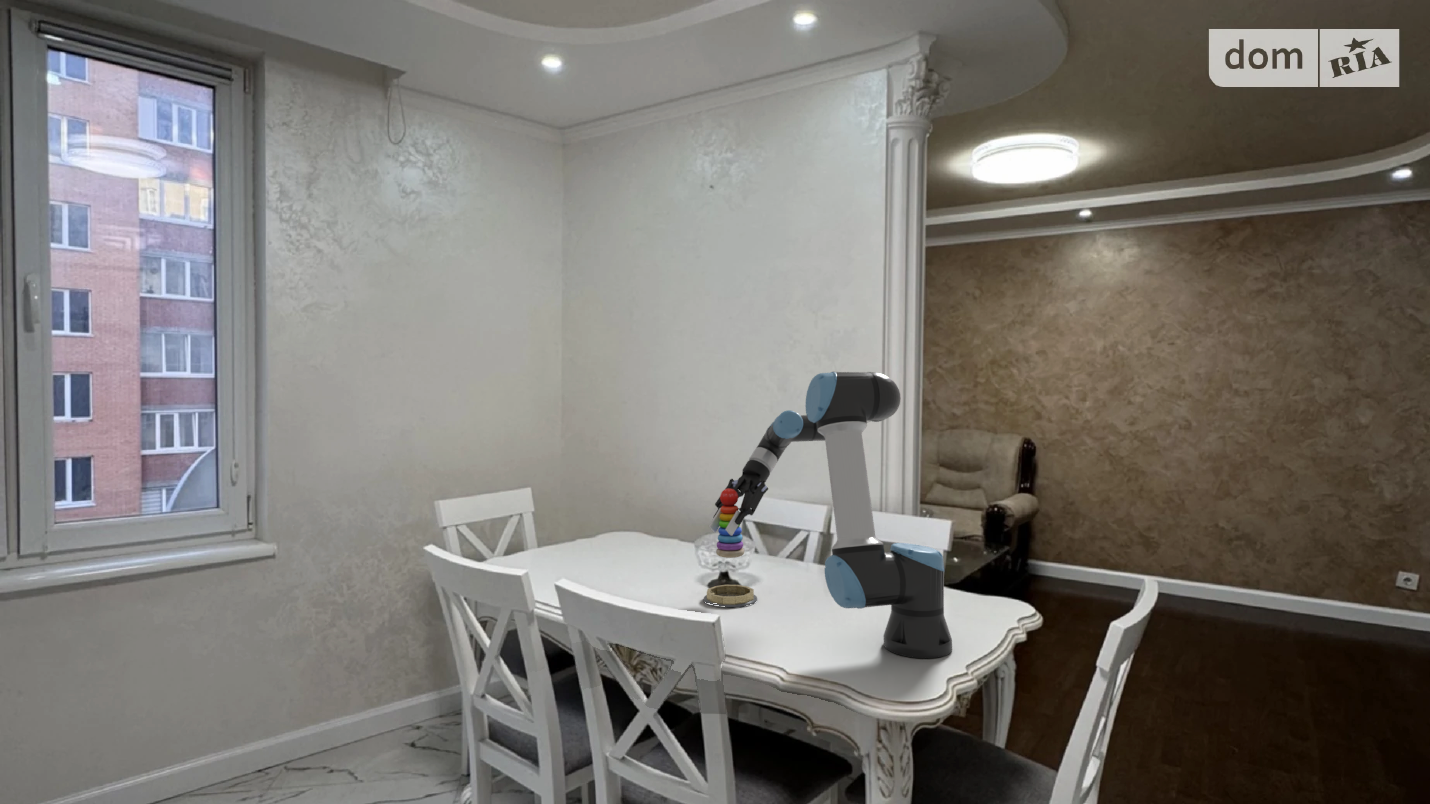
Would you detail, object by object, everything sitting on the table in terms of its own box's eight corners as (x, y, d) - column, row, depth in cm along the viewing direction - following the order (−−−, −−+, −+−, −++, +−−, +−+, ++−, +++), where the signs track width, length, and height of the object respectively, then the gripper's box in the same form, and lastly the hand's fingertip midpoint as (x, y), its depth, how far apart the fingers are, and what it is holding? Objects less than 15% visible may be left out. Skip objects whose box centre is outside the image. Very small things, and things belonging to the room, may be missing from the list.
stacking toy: (749, 554, 214) (749, 487, 213) (735, 560, 207) (734, 491, 206) (725, 550, 218) (725, 485, 217) (710, 556, 211) (710, 489, 211)
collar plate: (756, 608, 205) (756, 598, 205) (701, 607, 206) (701, 598, 206) (757, 593, 220) (757, 584, 220) (706, 592, 221) (706, 583, 221)
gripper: (790, 477, 216) (751, 543, 205) (742, 472, 230) (703, 534, 219) (777, 460, 212) (738, 527, 201) (729, 456, 226) (689, 518, 215)
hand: (720, 530), depth 210 cm, fingers closed on stacking toy, 6 cm apart
